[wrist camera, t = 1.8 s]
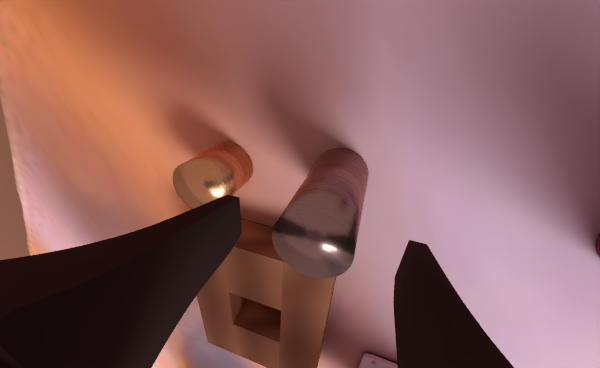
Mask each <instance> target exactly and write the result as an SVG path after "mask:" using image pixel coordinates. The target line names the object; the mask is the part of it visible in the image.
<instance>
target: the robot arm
mask: <svg viewBox="0 0 600 368" xmlns="http://www.w3.org/2000/svg"><path fill="white" fill-rule="evenodd" d="M241 233H242V228H241V215H240V202H239V198H238V197H234V196H230V195H225V196H222V197H220V198H217V199H215V200H213V201H210V202H208V203H206V204H203V205H201V206H199V207H196V208H194V209H192V210H190V211H187V212H185V213H183V214H180V215H178V216H175V217H173V218H170V219H167V220H165V221H162V222H160V223H157V224H155V225H152V226H149V227H146V228H143V229H140V230H137V231H134V232H131V233H128V234H125V235H121V236H118V237H114V238H110V239H106V240H103V241H99V242H95V243H91V244H87V245H83V246H78V247H74V248H69V249H64V250H59V251H54V252H49V253H44V254H38V255H32V256H26V257H19V258H13V259H6V260H0V368H151V367H152V366H153V364H154V362H155V360H156V359H157V357H158V355H159V353H160V352H161V350H162V348H163V346H164V345H165V343H166V342H167V340H168V338H169V337H170V335H171V333H172V332H173V330H174V329H175V327H176V325H177V324H178V322H179V321H180V319H181V318H182V316H183V314H184V313H185V311H186V310H187V308H188V307H189V305H190V304H191V302H192V301H193V299H194V298H195V297H196V295H197V294H198V293H199V291H200V290H201V289H202V287H203V286H204V285H205V284H206V282H207V281H208V280H209V279H210V277H211V276H212V275H213V274H214V272H215V271H216V270H217V269H218V267H219V266H220V265H221V264H222V262H223V261H224V260H225V258H226V257H227V256H228V254H229V253H230V252H231V250H232V249H233V247H234V245H235V244H236V242H237V240H238V239H239V237H240V235H241ZM394 318H395V333H396V348H397V363H398V364H396V363H393V362H391V361H388V360H385V359H383V358H380V357H377V356H374V355H372V354H369V353H365V354H364V355H363V357H362V360H361V362H360V365H359V367H358V368H514V367H513V366H512V365H511V364H510V362H509V361H508V360H507V359H506V358H505V356H504V355H503V354H502V353H501V351H500V350H499V349H498V348H497V347H496V345H495V344H494V343H493V342H492V340H491V339H490V338H489V337H488V335H487V334H486V333H485V332H484V330H483V329H482V328H481V326H480V325H479V323H478V322H477V321H476V319H475V318H474V317H473V315H472V314H471V313H470V311H469V310H468V308H467V307H466V305H465V304H464V303H463V301H462V300H461V298H460V297H459V295H458V294H457V292H456V291H455V289H454V288H453V286H452V285H451V283H450V281H449V280H448V278H447V277H446V275H445V273H444V272H443V270H442V269H441V267H440V265H439V264H438V262H437V260H436V259H435V257H434V255H433V254H432V252H431V250H430V249H429V247H428V246H427V244H423V243H419V242H415V241H411V240H409V242H408V245H407V247H406V250H405V252H404V255H403V257H402V260H401V263H400V265H399V268H398V270H397V273H396V275H395V285H394Z"/></svg>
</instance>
